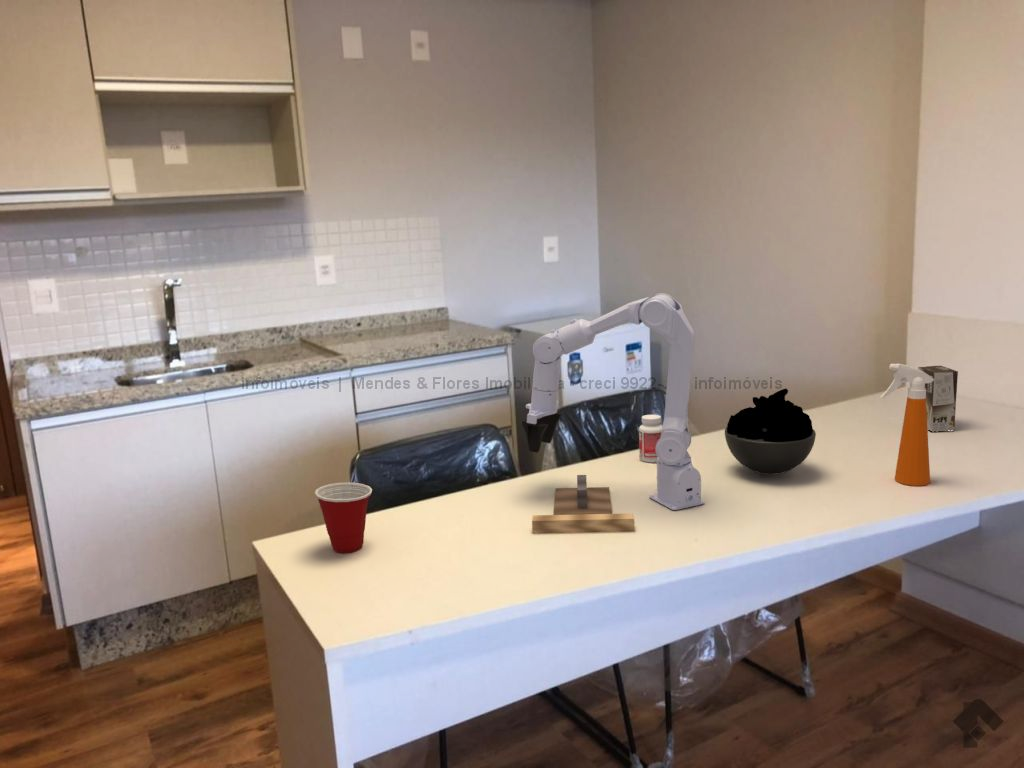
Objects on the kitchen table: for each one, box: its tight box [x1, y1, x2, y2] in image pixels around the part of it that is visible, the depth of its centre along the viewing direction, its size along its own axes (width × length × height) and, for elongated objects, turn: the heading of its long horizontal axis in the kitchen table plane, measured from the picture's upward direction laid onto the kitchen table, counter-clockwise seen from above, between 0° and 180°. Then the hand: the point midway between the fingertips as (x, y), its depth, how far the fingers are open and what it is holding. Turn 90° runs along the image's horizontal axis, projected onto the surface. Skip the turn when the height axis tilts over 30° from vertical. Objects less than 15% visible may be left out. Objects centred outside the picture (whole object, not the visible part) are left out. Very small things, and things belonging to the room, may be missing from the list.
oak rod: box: [531, 512, 635, 535], centre depth 163 cm, size 20×3×3 cm, turn 86°
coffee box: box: [917, 365, 959, 432], centre depth 218 cm, size 9×6×16 cm
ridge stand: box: [553, 474, 613, 515], centre depth 176 cm, size 16×12×5 cm
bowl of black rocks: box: [724, 388, 817, 475], centre depth 189 cm, size 20×20×19 cm
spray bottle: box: [879, 363, 934, 487], centre depth 178 cm, size 7×11×26 cm, turn 78°
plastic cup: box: [314, 482, 373, 554], centre depth 159 cm, size 11×11×12 cm
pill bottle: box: [638, 414, 663, 463], centre depth 204 cm, size 6×6×11 cm
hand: (540, 446), depth 184 cm, fingers open, 7 cm apart
